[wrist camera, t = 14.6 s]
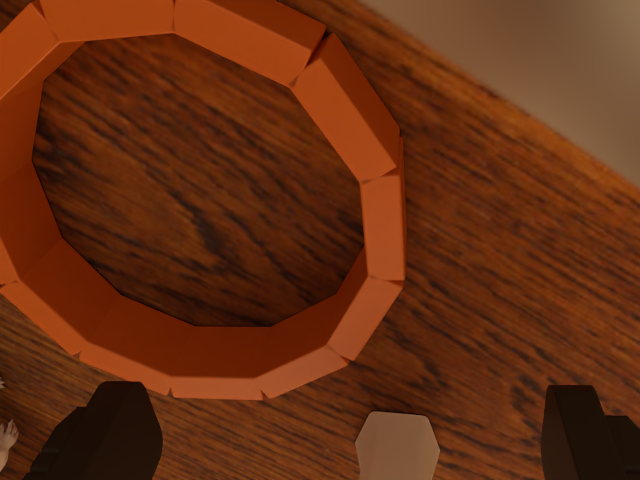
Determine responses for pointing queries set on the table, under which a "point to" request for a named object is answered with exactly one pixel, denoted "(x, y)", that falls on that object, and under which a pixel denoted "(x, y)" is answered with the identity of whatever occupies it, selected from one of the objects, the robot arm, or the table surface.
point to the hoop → (145, 322)
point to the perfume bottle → (396, 447)
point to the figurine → (6, 438)
